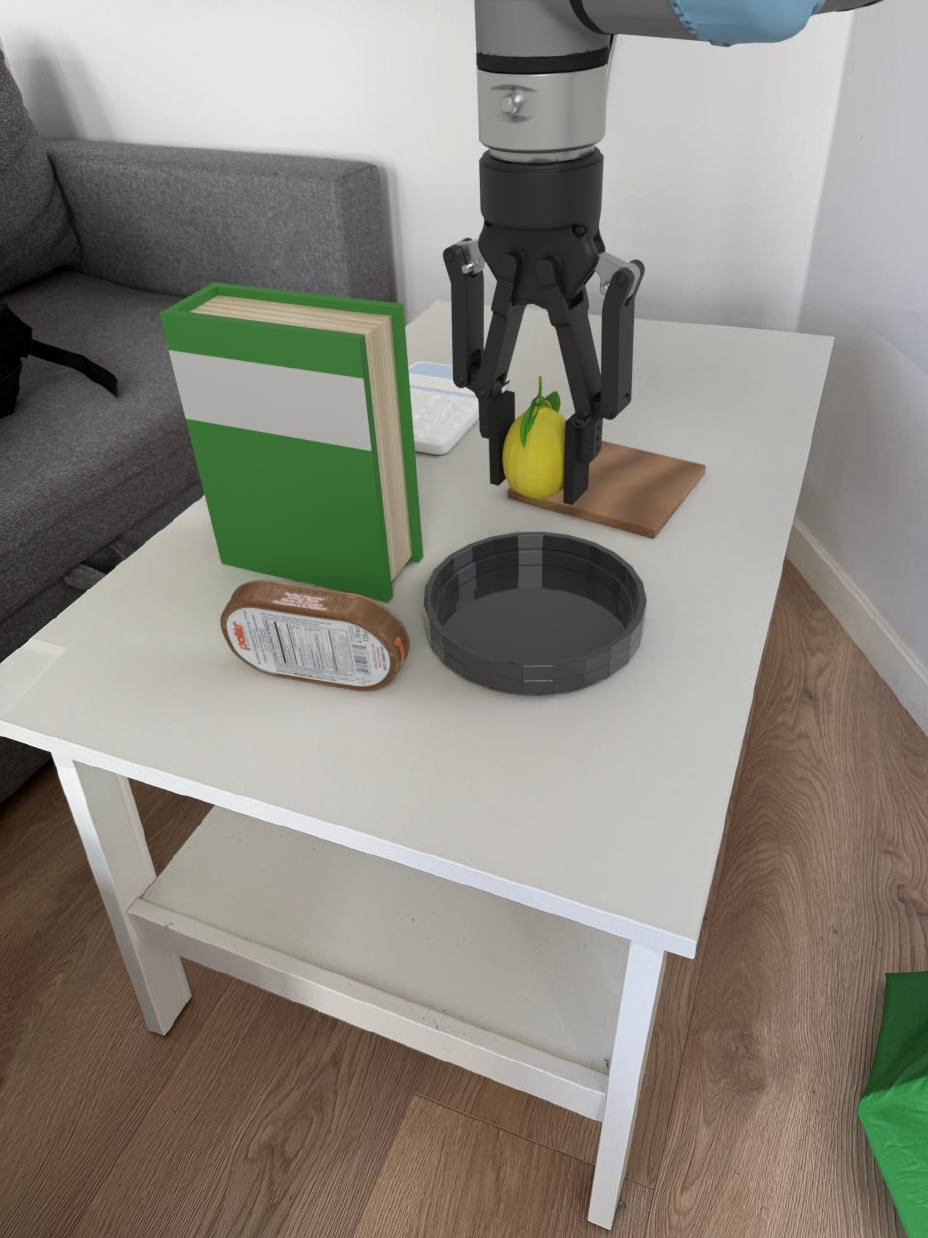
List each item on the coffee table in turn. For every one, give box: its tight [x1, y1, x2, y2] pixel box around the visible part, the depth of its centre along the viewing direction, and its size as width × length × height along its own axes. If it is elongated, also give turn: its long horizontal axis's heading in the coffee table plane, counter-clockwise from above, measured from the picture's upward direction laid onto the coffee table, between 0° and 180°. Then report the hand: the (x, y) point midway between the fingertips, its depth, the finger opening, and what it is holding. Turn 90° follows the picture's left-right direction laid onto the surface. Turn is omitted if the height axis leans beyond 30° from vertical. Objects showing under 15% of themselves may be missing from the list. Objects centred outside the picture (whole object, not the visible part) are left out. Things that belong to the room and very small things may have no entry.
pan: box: [423, 531, 648, 697], centre depth 77 cm, size 18×18×4 cm
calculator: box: [408, 361, 509, 456], centre depth 109 cm, size 13×20×2 cm, turn 156°
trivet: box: [507, 440, 707, 539], centre depth 95 cm, size 16×14×1 cm
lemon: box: [503, 375, 568, 501], centre depth 67 cm, size 7×6×10 cm
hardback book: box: [159, 281, 424, 603], centre depth 79 cm, size 18×7×24 cm, turn 67°
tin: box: [219, 579, 411, 692], centre depth 71 cm, size 15×3×8 cm, turn 74°
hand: (538, 485), depth 69 cm, fingers closed on lemon, 5 cm apart
